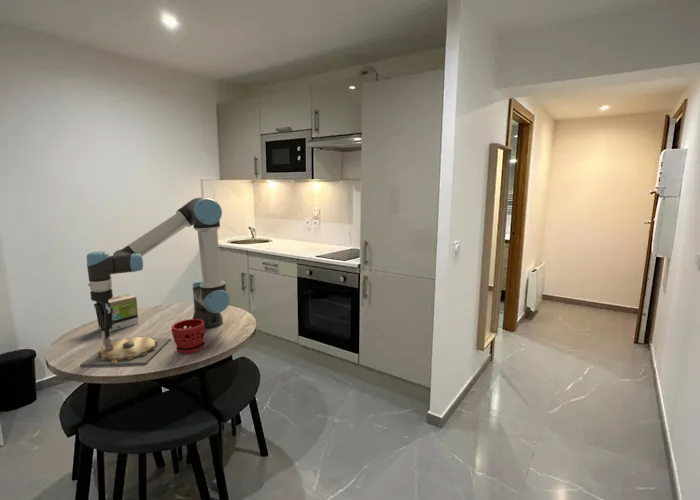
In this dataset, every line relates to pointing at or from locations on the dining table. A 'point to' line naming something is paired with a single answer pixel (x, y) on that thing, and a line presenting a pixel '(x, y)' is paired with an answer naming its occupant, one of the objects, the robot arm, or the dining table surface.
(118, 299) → the tea box
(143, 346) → the sprocket
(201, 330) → the plant pot
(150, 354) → the sprocket base
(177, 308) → the dining table surface
